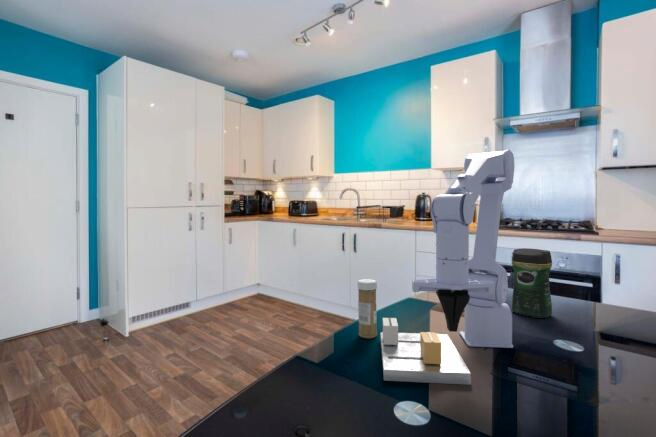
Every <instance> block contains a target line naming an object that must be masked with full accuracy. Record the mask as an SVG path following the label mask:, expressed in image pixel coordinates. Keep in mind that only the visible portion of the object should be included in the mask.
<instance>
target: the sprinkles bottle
mask: <svg viewBox="0 0 656 437" xmlns="http://www.w3.org/2000/svg"><path fill="white" fill-rule="evenodd" d="M377 287H378V282H377V280H375V279H372V278H362V279H359V280H357V289H358V291H357V292H358V301H357V303H358V304H357V305H358V306H357V308H358V315H357V316H358V336H359V337H360V338H363V339H373V338H377V336H378V331H377V329H378V328H377V320H378V319H377V318H378V317H377V314H378V313H377V311H378V310H377V289H378V288H377Z"/></svg>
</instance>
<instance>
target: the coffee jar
mask: <svg viewBox="0 0 656 437" xmlns="http://www.w3.org/2000/svg"><path fill="white" fill-rule="evenodd" d="M511 266H512V268H513V285H512V286H513V288H512V296H511V312H514V313H515V314H518V313H519V314H518V315H521V314H522V315H521V316H525V315H526V316H525V317H529V316H531V317H530V318H535V319H536V318H537V319H542V318H546V319H547V318H550V317H551V315H552V314H553V305H552V297H551V290H550V289H551V287H550V271H551V269H552V267H553V259H552V253H551V252H550V250H545V249H538V248H530V247H529V248H525V247H524V248H521V247H520V248H516V249H514V250H513V252H512V255H511Z"/></svg>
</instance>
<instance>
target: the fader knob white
mask: <svg viewBox="0 0 656 437" xmlns="http://www.w3.org/2000/svg"><path fill="white" fill-rule="evenodd" d="M382 332H383V342H384V344H385V345H398V333H399V324H398V321H397V318H396V317H382Z"/></svg>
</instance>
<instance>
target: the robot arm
mask: <svg viewBox="0 0 656 437" xmlns="http://www.w3.org/2000/svg"><path fill="white" fill-rule="evenodd" d="M463 166H464V167H463V169H464V173H461V174H459V175H457V177H456V178H455V179H454V180H453V182H452V183H451V184H450V186H449V187H448V189H446V191H445V192H444V194H443V193H442V194H438V195H437V196H436V197H434V198H433V199H432V201H431V205H430V206H431V207H430V217H431V221H432V225H433V229H432V230H433V233H434V234H436V235H435V238H436V240H435V243H436V244H435V248H436V250H435V256H436V257H435V259H436V262H435V263H436V264H435V265H436V266H435V271H436V273H435V275H436V276H435V278H424V279H411V290H412V292H413V293H419V292H435V294H436V296H437V298H438V300H439V303H440V305H441V308H442V310H443V313H444V314H443V315H444V318H445V322H446V329H447V330H448V332H450V333H451V332H453V333H454V332H458V329H459V328H458V327H459V324H460V320H461V317H462V315H463V313H464V331H463V330H461V331H459V332H458V333H459V335H460V336H461V338H462V339H463V341H464V342H465V343H466V345H467V346H468V347H475V348H476V347H477V348H480V347H481V348H505V349H506V348H507V349H513V348H514V344H513V315H512V309H511V308H510V306H509V304H508V303H506V301H507V298H508V293H509V292H508V291H509V283H508V273H507V270H506V269H505V267H503V266H502V265H501V264H500V263H499V262H498V261H496V260H497V259H496V258H497V248H498V240H499V229H500V222H501V214H502V212H501V210H502V205H503V204H502V203H503V198H504V194H505V193H506V192H507V191H509V190H511V189H512V187H513V183H514V175H515V156H514V153H513V152H512V150H510V149H506V150H499V151H489V152H488V151H487V152H480V153H479V152H478V153H468V154H467V155H466V157H465V158H464V164H463ZM479 197H480V200H479V206H478V207H479V208H478V216H477V222H476V232H475V238H474V239H475V240H474V248H473V256H472V258H470V259H469V252H470V250H469V248H470V247H469V246H470V245H469V244H470V242H469V241H470V240H469V238H470V236H469V235H470V234H469V233H470V225H471V224H472V222H473V220H474V217H475V215H474V214H475V210H476V203H477V200H478V198H479Z"/></svg>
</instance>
